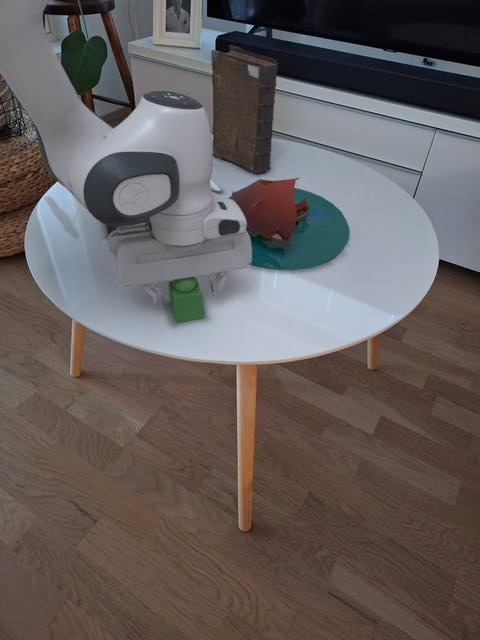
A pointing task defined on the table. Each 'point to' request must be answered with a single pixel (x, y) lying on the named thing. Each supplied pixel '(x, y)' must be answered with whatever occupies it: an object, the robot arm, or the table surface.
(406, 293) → the table surface
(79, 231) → the table surface
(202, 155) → the robot arm
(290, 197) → the boat on round base
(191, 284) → the green toy
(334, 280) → the table surface
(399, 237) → the table surface
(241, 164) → the book
